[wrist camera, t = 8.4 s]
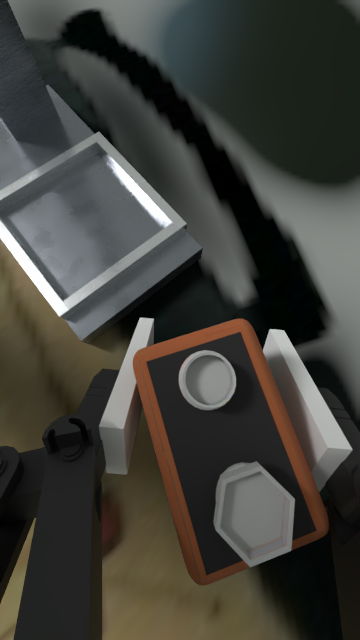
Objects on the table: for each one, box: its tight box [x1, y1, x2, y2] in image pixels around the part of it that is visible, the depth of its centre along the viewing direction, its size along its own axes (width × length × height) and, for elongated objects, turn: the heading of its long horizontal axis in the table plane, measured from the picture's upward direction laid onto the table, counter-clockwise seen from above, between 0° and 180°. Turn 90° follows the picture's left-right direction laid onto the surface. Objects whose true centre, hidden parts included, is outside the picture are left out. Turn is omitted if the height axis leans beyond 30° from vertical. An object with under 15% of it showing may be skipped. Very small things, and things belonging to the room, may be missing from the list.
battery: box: [133, 319, 329, 585], centre depth 11 cm, size 4×7×10 cm, turn 18°
